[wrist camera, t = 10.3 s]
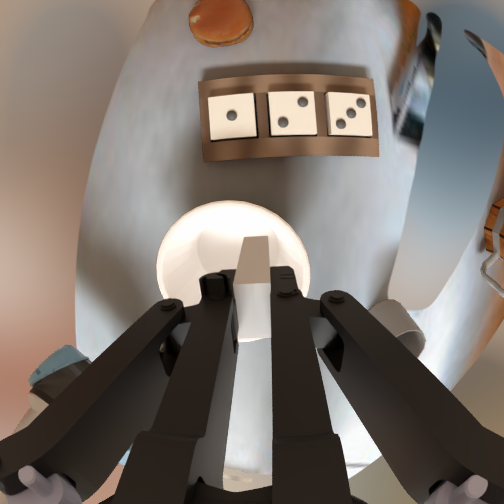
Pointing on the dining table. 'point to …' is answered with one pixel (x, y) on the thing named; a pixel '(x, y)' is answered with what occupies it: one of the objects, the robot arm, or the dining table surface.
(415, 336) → the cup
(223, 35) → the burger
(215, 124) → the tile one
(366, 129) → the tile three
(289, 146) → the board
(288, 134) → the tile two
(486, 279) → the mug
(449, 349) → the dining table surface
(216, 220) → the bowl
